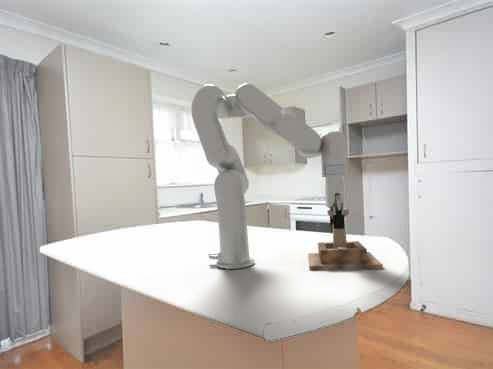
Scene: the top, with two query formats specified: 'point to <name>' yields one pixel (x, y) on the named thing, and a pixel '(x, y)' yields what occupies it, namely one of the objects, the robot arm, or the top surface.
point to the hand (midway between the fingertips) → (337, 226)
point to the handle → (339, 232)
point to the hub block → (342, 257)
